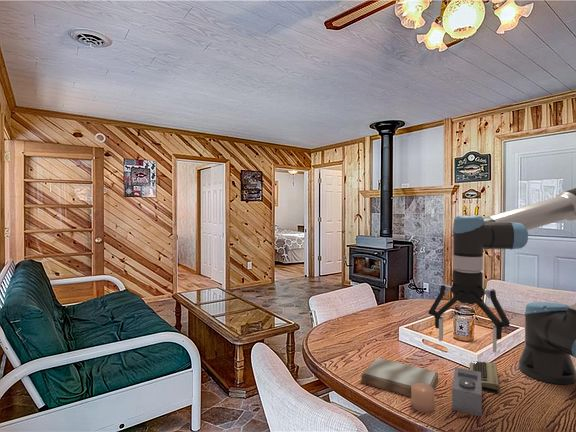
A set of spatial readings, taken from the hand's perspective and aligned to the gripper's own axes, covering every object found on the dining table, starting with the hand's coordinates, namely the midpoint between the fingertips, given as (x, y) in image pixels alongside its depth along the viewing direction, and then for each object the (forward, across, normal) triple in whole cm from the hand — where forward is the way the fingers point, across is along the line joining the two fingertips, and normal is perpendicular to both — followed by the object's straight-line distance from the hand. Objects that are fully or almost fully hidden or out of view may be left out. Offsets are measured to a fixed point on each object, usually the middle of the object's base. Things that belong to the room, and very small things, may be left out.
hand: (466, 344), depth 98 cm
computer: (+16, -3, -16) cm, 23 cm away
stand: (+16, +19, 0) cm, 25 cm away
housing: (+16, 0, 0) cm, 16 cm away
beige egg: (+16, +10, +10) cm, 21 cm away
